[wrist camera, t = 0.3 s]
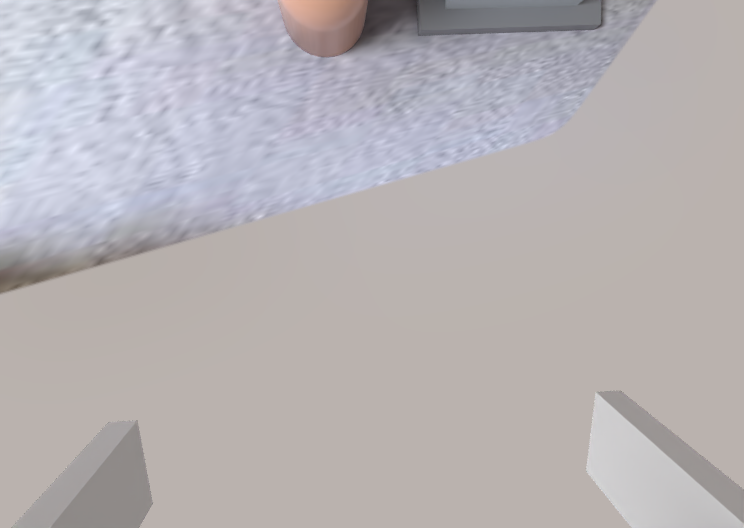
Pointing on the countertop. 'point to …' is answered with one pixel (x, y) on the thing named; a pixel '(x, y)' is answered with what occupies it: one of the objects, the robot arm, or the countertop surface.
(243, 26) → the countertop surface
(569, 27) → the grey rectangular tray
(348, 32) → the peach round cylinder
